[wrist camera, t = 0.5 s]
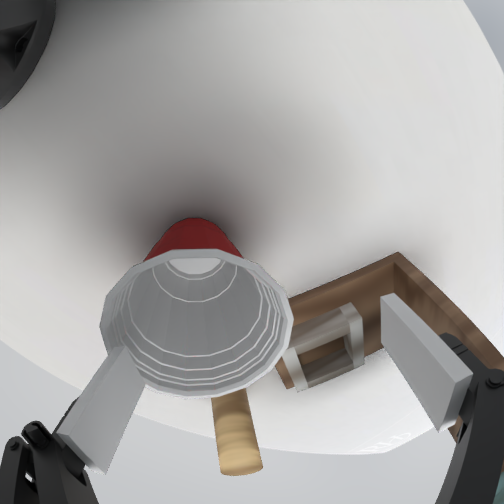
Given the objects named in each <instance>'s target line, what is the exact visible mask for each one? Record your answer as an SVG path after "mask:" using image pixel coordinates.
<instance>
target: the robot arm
mask: <svg viewBox="0 0 504 504" xmlns="http://www.w3.org/2000/svg"><path fill="white" fill-rule="evenodd" d="M54 16H55V0H0V109H1V108H2V107H4V106H5V105H6V104H7V103H8V102H9V101H10V100H11V99H12V98H13V97H14V96H15V95H16V93H17V92H18V91H19V90H20V88H21V87H22V86H23V85H24V83H25V82H26V80H27V79H28V77H29V76H30V74H31V73H32V71H33V69H34V68H35V66H36V64H37V62H38V60H39V59H40V56H41V54H42V52H43V50H44V48H45V46H46V43H47V41H48V38H49V35H50V32H51V29H52V25H53V21H54ZM380 303H381V343H382V345H383V346H384V348H385V349H386V351H387V352H388V354H389V355H390V357H391V358H392V360H393V361H394V363H395V364H396V366H397V367H398V369H399V370H400V372H401V373H402V375H403V376H404V378H405V379H406V381H407V382H408V384H409V386H410V387H411V389H412V390H413V392H414V393H415V395H416V397H417V398H418V400H419V401H420V403H421V405H422V406H423V408H424V410H425V411H426V413H427V415H428V416H429V418H430V419H431V421H432V423H433V425H434V426H435V428H436V430H437V431H438V433H439V432H441V431H443V430H445V429H447V428H449V427H451V426H453V425H454V424H455V422H456V420H457V418H458V415H459V416H460V417H461V419H462V420H463V422H462V425H461V427H460V429H459V431H458V433H457V435H456V437H458V440H457V443H456V447H455V450H454V454H453V457H452V460H451V463H450V466H449V469H448V472H447V475H446V478H445V480H444V483H443V486H442V488H441V491H440V493H439V496H438V498H437V500H436V503H435V504H493V501H494V498H495V494H496V491H497V487H498V483H499V479H500V474H501V470H502V465H503V460H504V371H503V370H501V369H496V368H494V369H488V368H487V367H486V366H485V365H484V364H483V363H482V362H481V361H480V360H479V359H478V358H477V357H476V356H475V355H474V354H473V353H472V352H471V351H470V350H468V348H467V347H466V346H465V345H463V343H462V342H461V341H460V340H459V339H458V338H457V337H456V336H453V335H451V334H449V333H447V332H445V333H443V334H441V335H437V334H436V333H435V332H434V331H433V330H432V329H431V328H430V327H429V326H428V325H427V324H426V323H425V322H424V321H423V320H422V319H421V318H420V317H419V316H418V315H417V314H416V313H415V312H414V311H413V310H412V309H410V308H409V307H408V306H407V305H406V304H405V303H404V302H403V301H402V300H401V299H400V298H399V297H398V296H397V295H396V294H395V293H391V294H388V295H385V296H381V297H380ZM145 385H146V384H145V382H144V381H143V379H142V377H141V375H140V373H139V371H138V369H137V368H136V366H135V364H134V362H133V360H132V358H131V356H130V354H129V352H128V350H127V348H126V346H119V347H114V348H113V350H112V351H111V352H110V354H109V355H108V357H107V358H106V359H105V361H104V362H103V364H102V365H101V366H100V368H99V369H98V371H97V372H96V373H95V375H94V376H93V378H92V379H91V381H90V382H89V384H88V385H87V386H86V388H85V389H84V391H83V392H82V394H81V395H80V396H79V397H78V398H77V399H76V400H75V401H73V402H72V404H71V406H70V407H69V408H68V410H67V411H66V413H65V416H63V417H62V419H61V420H60V422H59V424H58V425H57V427H56V428H55V430H54V431H53V433H52V434H50V433H49V431H48V430H47V429H46V428H45V426H44V425H43V424H42V423H41V422H40V421H33V422H30V423H29V424H27V425H26V426H25V427H24V429H23V430H22V433H21V434H22V436H23V437H24V439H25V440H26V441H27V442H28V443H29V444H27V443H26V442H25V441H24V440H23V439H22V438H21V437H19V436H15V437H12V438H11V439H9V441H8V442H7V444H6V446H5V450H4V453H3V458H2V462H1V466H0V504H99V503H98V501H97V498H96V496H95V493H94V491H93V488H92V485H91V483H90V480H89V477H88V474H87V473H86V471H85V470H84V469H83V468H84V466H85V464H86V465H87V466H88V467H89V468H90V469H91V470H92V471H93V472H97V473H101V474H106V473H107V471H108V468H109V466H110V463H111V461H112V459H113V456H114V454H115V452H116V449H117V447H118V445H119V443H120V440H121V438H122V436H123V433H124V431H125V428H126V427H127V424H128V422H129V419H130V418H131V415H132V413H133V411H134V409H135V406H136V404H137V402H138V400H139V398H140V396H141V393H142V391H143V389H144V387H145ZM26 473H27V474H28V475H29V476H30V477H32V482H30V481H29V480H28V479H27V478H26V477H25V475H26Z"/></svg>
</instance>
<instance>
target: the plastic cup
mask: <svg viewBox="0 0 504 504" xmlns="http://www.w3.org/2000/svg"><path fill="white" fill-rule="evenodd" d="M293 321H294V318H293V314H292V311H291V308H290V305H289V301H288V298H287V295H286V292H285V290H284V289H283V288H282V287H281V286H280V285H279V284H278V283H277V282H276V281H275V280H274V279H273V278H272V277H271V276H270V275H269V274H268V273H267V272H266V271H265V270H264V269H263V268H262V267H261V266H260V265H259V264H257V263H254V262H252V261H249V260H246V259H244V258H243V257H242V255H241V254H240V253H239V251H238V250H237V249H236V247H235V246H234V245H233V244H232V243H231V242H230V241H229V239H228V238H227V236H226V235H225V233H224V232H223V231H222V230H221V229H220V228H219V227H218V226H217V225H215V224H214V223H212V222H209V221H207V220H204V219H202V218H187V219H185V220H182V221H180V222H177V223H175V224H174V225H173V226H172V227H171V228H170V229H169V230H168V231H167V232H166V233H165V234H164V235H163V237H162V238H161V239H160V240H159V241H158V242H157V243H156V244H155V246H154V247H153V249H152V250H151V251H150V253H149V254H148V256H147V257H146V258H145V260H144V261H143V262H142V263H139V264H137V265H135V266H133V267H132V268H130V269H129V271H128V272H127V273H126V274H125V275H124V276H123V277H122V278H121V280H120V281H119V282H118V283H117V284H116V285H115V286H114V287H113V289H112V290H111V291H110V292H109V293H108V294H107V295H106V299H105V303H104V308H103V312H102V317H101V322H100V330H101V334H102V337H103V341H104V344H105V347H106V350H107V353H108V355H109V354H110V352H111V351H112V350H113V348H114V347H119V346H126V348H127V350H128V352H129V354H130V356H131V358H132V360H133V362H134V364H135V366H136V368H137V369H138V371H139V373H140V375H141V377H142V379H143V381H144V382H145V384H146V385H145V387H146V388H147V389H149V390H151V391H153V392H155V393H159V394H164V395H168V396H173V397H178V398H183V399H196V398H212V397H219V396H222V395H225V394H228V393H231V392H234V391H237V390H240V389H243V388H246V387H248V386H249V385H251V384H252V383H254V382H255V381H257V380H258V379H259V378H261V377H262V376H264V375H265V374H267V373H268V372H269V371H271V370H272V369H273V367H274V366H275V364H276V363H277V362H278V360H279V359H280V358H281V356H282V355H283V353H284V352H285V350H286V349H287V348H288V345H289V341H290V336H291V331H292V326H293Z"/></svg>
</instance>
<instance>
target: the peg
mask: <svg viewBox="0 0 504 504" xmlns="http://www.w3.org/2000/svg"><path fill="white" fill-rule="evenodd" d="M211 401H212V410H213V418H214V427H215V435H216V442H217V449H218V457H219V463H220V470H221V473H222V474H224V475H230V476H239V475H247V474H251V473H255V472H257V471H260V470H261V469H262V468H263V465H262V460H261V457H260V452H259V448H258V443H257V439H256V434H255V430H254V425H253V421H252V416H251V411H250V407H249V402H248V397H247V393H246V388H243V389H240V390H237V391H234V392H231V393H228V394H225V395H222V396H219V397H212V398H211Z"/></svg>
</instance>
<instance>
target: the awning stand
mask: <svg viewBox="0 0 504 504" xmlns="http://www.w3.org/2000/svg"><path fill="white" fill-rule="evenodd" d="M391 293H395V294H396V295H397V296H398V297H399V298H400V299H401V300H402V301H403V302H404V303H405V304H406V305H407V306H408V307H409V308H410V309H412V310H413V311H414V312H415V313H416V314H417V315H418V316H419V317H420V318H421V319H422V320H423V321H424V322H425V323H426V324H427V325H428V326H429V327H430V328H431V329H432V330H433V331H434V332H435V333H436V334H437V335H441V334H443V333H445V332H447V333H449V334H451V335H453V336H456V337H457V338H458V339H459V340H460V341H461V342H462V343H463V345H465V346H466V347H467V348H468V350H470V351H471V352H472V353H473V354H474V355H475V356H476V357H477V358H478V359H479V360H480V361H481V362H482V363H483V364H484V365H485V366H486V367H487V368H488V369H494V368H496V369H501V370H503V371H504V357H503V356H502V355H501V354H500V352H499V351H498V350H497V349H496V348H495V347H494V345H493V344H492V343H491V342H490V341H489V340H488V339H487V337H486V336H485V335H484V334H483V333H482V332H481V331H480V330H479V329H478V328H477V327H476V325H475V324H474V323H473V322H472V321H471V320H470V319H469V318H468V317H467V316H466V315H465V314H464V313H463V312H462V311H461V310H460V309H459V308H458V307H457V306H456V305H455V304H454V303H453V302H452V301H451V300H450V299H449V298H448V297H447V296H446V295H445V294H444V293H443V292H442V291H441V290H440V289H439V288H438V287H437V286H436V285H435V284H434V283H433V282H432V281H430V280H429V279H428V278H427V277H426V276H425V275H424V274H423V273H422V272H421V271H420V270H419V269H417V268H416V267H415V266H414V265H413V264H412V263H411V262H410V261H408V260H407V259H406V258H405V257H404V256H403V255H402V254H400V253H399V252H397V253H395V254H393V255H390V256H388V257H386V258H384V259H382V260H380V261H377V262H375V263H373V264H371V265H368V266H366V267H364V268H362V269H359V270H357V271H355V272H353V273H350V274H348V275H346V276H343V277H341V278H339V279H336V280H334V281H332V282H329V283H327V284H324V285H322V286H320V287H317V288H315V289H312V290H310V291H307V292H305V293H302V294H300V295H297V296H295V297H292V298H290V299H288V301H289V305H290V308H291V311H292V314H293V318H294V321H293V326H292V331H291V336H290V341H289V345H288V348H287V349H286V350H285V352H284V353H283V355H282V356H281V358H280V359H279V360H278V362H277V363H276V364H275V367H276V369H277V371H278V373H279V375H280V377H281V379H282V381H283V383H284V385H285V387H286V389H289V388H292V387H296V390H297V392H300V391H303V390H305V389H308V388H311V387H313V386H316V385H318V384H321V383H323V382H326V381H328V380H330V379H333V378H335V377H337V376H340V375H342V374H344V373H346V372H349V371H351V370H353V369H355V368H357V367H360V366H362V365H364V357H365V356H368V355H370V354H372V353H374V352H376V351H378V350H380V349H382V348H384V346H383V345H382V343H381V303H380V297H381V296H385V295H388V294H391ZM462 422H463V420H462V419H461V417H460V416H459V415H458V418H457V420H456V422H455V424H454V425H453V426H451V427H449V428H448V430H449V431H450V433H451V435H452V436H453V438H454V440H455V442H456V443H457V440H458V437H456V435H457V433H458V431H459V429H460V427H461V425H462ZM493 504H504V460H503V465H502V470H501V474H500V479H499V483H498V487H497V491H496V494H495V498H494V501H493Z"/></svg>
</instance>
